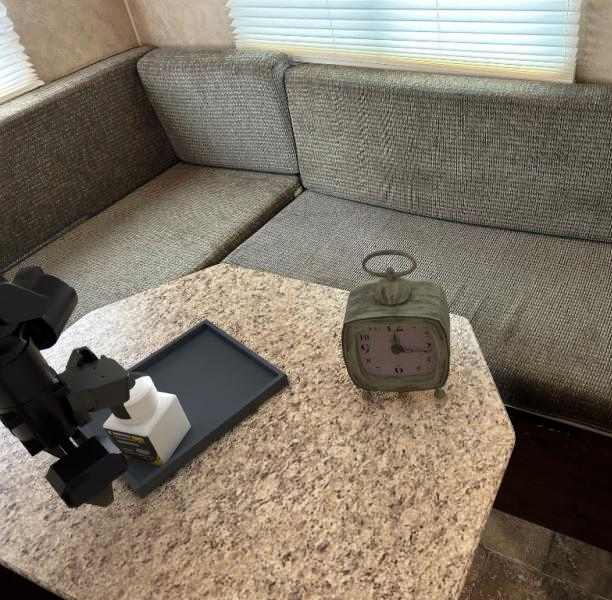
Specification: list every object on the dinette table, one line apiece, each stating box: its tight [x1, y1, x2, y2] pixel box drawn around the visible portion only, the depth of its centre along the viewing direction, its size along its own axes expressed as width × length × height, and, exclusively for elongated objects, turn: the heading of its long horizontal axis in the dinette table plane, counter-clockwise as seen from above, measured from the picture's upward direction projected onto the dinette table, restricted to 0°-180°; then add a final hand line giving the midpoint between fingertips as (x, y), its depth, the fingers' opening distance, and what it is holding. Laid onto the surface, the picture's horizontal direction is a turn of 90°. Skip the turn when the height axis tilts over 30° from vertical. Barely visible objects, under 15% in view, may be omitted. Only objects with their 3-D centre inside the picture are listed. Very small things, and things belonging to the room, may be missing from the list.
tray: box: [77, 318, 290, 499], centre depth 92 cm, size 26×22×2 cm
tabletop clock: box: [340, 249, 451, 401], centre depth 83 cm, size 14×9×25 cm, turn 86°
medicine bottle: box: [103, 372, 191, 466], centre depth 82 cm, size 7×7×12 cm
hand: (89, 480), depth 67 cm, fingers open, 9 cm apart
